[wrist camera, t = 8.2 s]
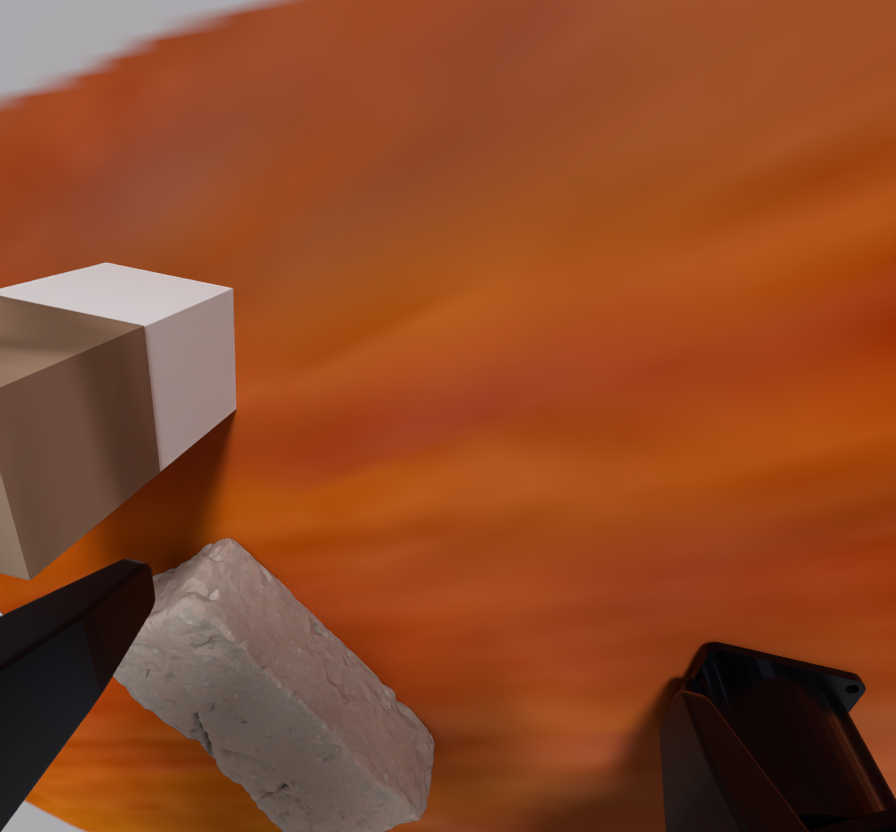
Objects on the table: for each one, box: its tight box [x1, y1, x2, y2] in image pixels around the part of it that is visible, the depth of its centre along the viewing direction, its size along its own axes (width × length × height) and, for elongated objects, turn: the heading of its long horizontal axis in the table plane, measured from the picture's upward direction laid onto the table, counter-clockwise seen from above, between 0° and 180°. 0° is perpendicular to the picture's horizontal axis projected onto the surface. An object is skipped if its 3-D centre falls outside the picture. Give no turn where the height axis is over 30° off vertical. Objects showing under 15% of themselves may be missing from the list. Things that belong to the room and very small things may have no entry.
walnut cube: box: [0, 296, 160, 580], centre depth 14 cm, size 5×5×5 cm
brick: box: [113, 538, 435, 832], centre depth 27 cm, size 17×8×5 cm, turn 37°
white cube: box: [0, 263, 236, 472], centre depth 19 cm, size 5×5×5 cm
